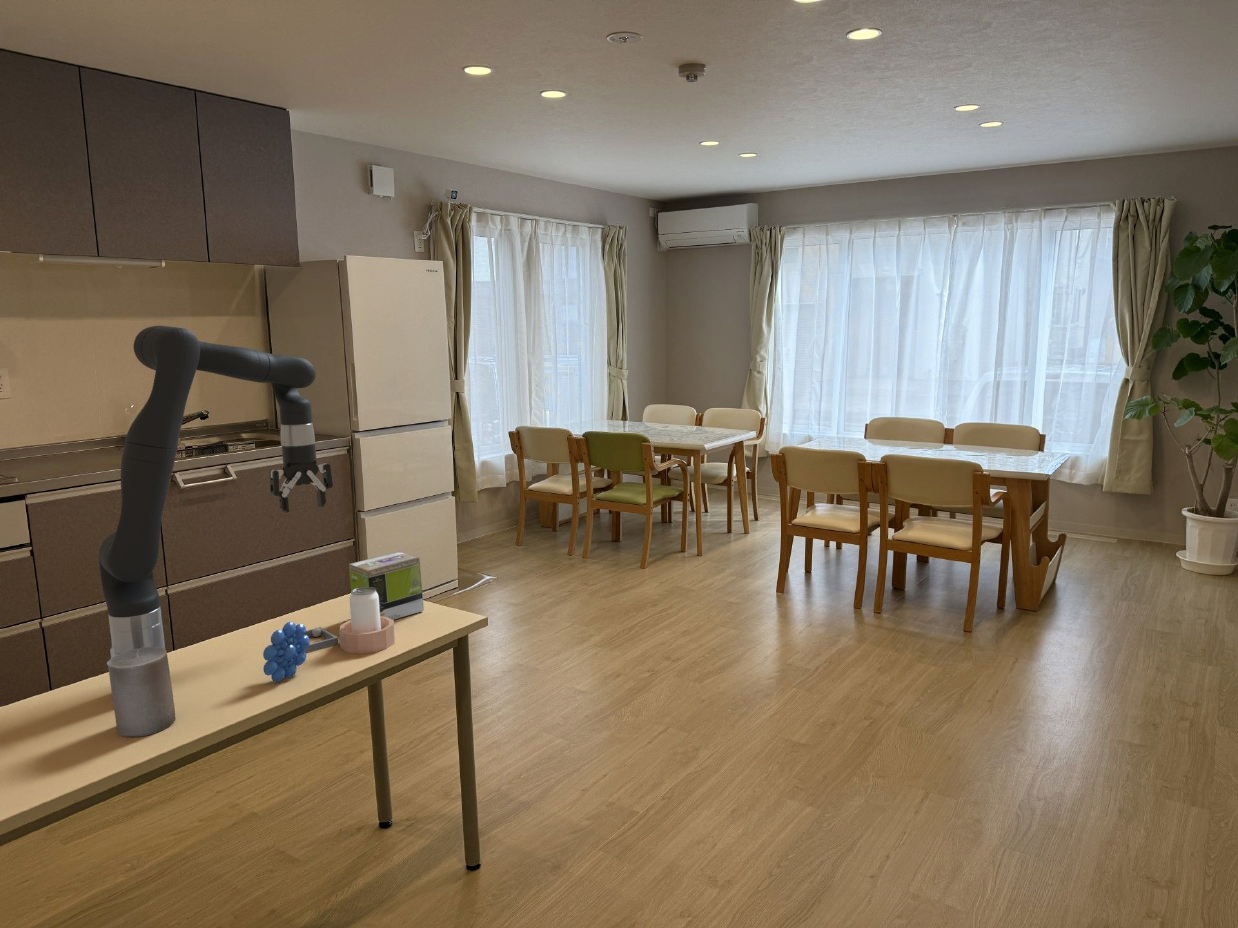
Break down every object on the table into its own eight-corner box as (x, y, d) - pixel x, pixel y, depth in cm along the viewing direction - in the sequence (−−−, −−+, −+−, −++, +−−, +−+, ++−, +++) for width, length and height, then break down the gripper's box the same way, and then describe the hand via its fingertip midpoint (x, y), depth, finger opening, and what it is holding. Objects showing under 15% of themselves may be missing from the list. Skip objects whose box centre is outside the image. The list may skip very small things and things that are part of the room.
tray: (296, 655, 190) (295, 648, 190) (279, 643, 198) (278, 637, 197) (338, 643, 197) (337, 637, 197) (320, 632, 204) (320, 626, 204)
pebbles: (297, 654, 191) (296, 644, 191) (281, 643, 198) (281, 634, 197) (335, 643, 197) (334, 633, 197) (319, 633, 204) (318, 624, 203)
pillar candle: (167, 708, 164) (158, 635, 162) (182, 725, 157) (172, 649, 155) (111, 726, 158) (100, 650, 155) (124, 743, 151) (112, 664, 148)
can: (364, 647, 192) (360, 596, 190) (346, 641, 196) (343, 591, 194) (387, 638, 197) (384, 589, 195) (369, 633, 201) (366, 584, 199)
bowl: (355, 657, 188) (354, 638, 188) (332, 643, 197) (331, 625, 196) (404, 643, 196) (402, 624, 196) (379, 630, 205) (378, 612, 204)
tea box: (403, 603, 225) (400, 550, 223) (424, 612, 218) (421, 556, 216) (351, 618, 215) (347, 562, 212) (372, 627, 208) (367, 569, 205)
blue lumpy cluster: (297, 664, 185) (292, 612, 183) (319, 669, 182) (314, 616, 180) (251, 684, 175) (246, 629, 173) (274, 690, 172) (268, 634, 170)
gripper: (274, 447, 192) (280, 516, 195) (333, 440, 202) (338, 506, 204) (261, 444, 198) (267, 511, 200) (320, 438, 207) (325, 502, 210)
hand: (303, 509), depth 202 cm, fingers open, 8 cm apart
